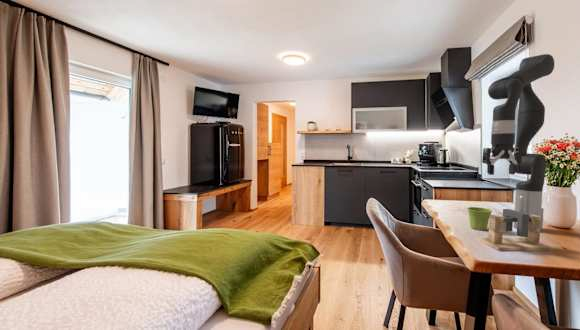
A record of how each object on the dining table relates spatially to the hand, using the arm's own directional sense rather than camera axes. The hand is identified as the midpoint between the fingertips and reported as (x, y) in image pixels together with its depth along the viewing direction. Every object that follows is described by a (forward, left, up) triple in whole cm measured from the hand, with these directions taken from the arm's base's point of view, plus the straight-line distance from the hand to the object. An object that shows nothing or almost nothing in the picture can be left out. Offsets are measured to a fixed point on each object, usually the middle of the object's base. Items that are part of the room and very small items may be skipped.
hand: (501, 174), depth 116 cm
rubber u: (0, +8, -21) cm, 22 cm away
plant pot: (-2, -14, -26) cm, 29 cm away
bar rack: (0, +8, -25) cm, 27 cm away
